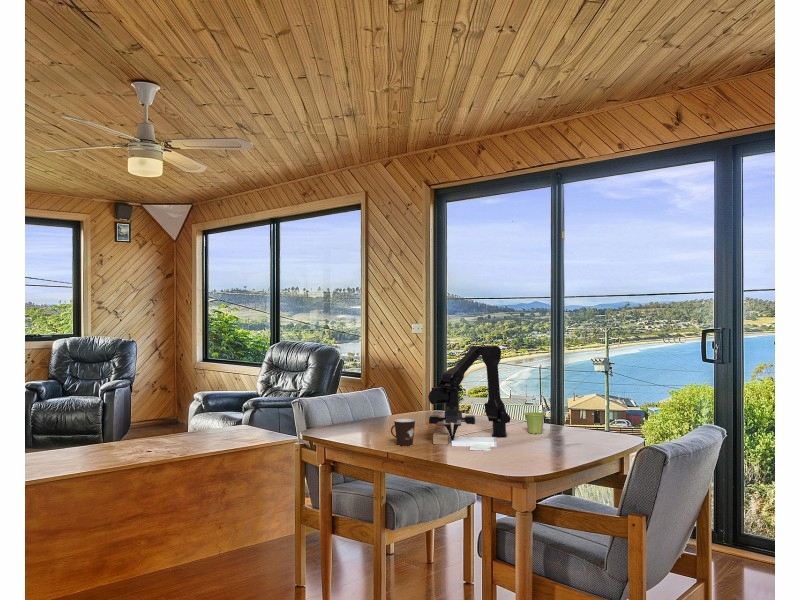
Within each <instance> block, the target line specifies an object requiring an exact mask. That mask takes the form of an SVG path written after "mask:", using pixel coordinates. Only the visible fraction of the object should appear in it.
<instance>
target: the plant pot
mask: <svg viewBox="0 0 800 600" xmlns="http://www.w3.org/2000/svg"><path fill="white" fill-rule="evenodd" d="M523 414H524V418H525V419H526V421H525V422H526V426H527V433H528V434H531V433H532V435H535V434H537V435H539V434H540V435H541V434H543V427H544V419H545V415H546V413H544V412H537V411H535V412H533V411H532V412H525V413H523Z"/></svg>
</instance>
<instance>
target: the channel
mask: <svg viewBox="0 0 800 600" xmlns="http://www.w3.org/2000/svg"><path fill="white" fill-rule="evenodd" d="M497 438H498V437H492V436H455V437H454V440H453V441H451V446H452V447H470V445H491V448H498V441H497Z"/></svg>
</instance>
